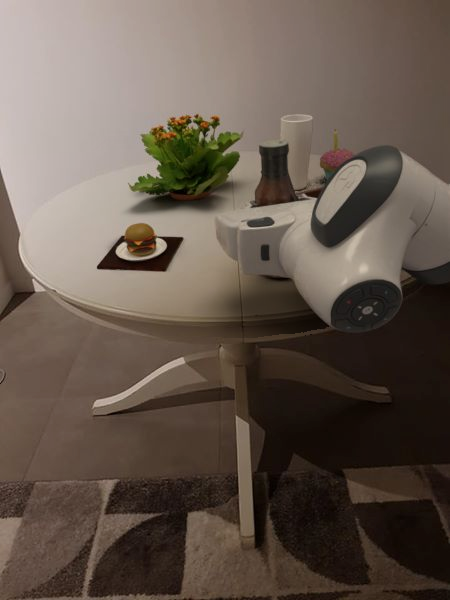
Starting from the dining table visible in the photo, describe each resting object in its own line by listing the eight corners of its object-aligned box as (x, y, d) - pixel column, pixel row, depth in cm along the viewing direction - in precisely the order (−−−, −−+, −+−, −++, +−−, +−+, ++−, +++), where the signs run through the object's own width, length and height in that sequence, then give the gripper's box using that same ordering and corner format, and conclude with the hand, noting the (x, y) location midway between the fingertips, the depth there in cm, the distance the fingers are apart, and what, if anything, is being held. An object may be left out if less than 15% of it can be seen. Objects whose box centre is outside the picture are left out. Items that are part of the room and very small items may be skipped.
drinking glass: (294, 194, 102) (296, 123, 94) (274, 187, 107) (273, 118, 99) (316, 186, 105) (320, 117, 97) (295, 179, 110) (297, 112, 102)
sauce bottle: (305, 269, 74) (310, 141, 63) (279, 284, 71) (280, 151, 60) (273, 257, 78) (273, 134, 67) (248, 271, 75) (243, 144, 64)
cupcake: (341, 190, 103) (345, 133, 96) (310, 182, 108) (312, 128, 102) (363, 179, 107) (369, 125, 101) (333, 172, 113) (336, 120, 106)
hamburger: (122, 237, 89) (116, 210, 86) (183, 239, 87) (180, 211, 84) (97, 268, 79) (90, 239, 76) (165, 271, 77) (161, 240, 74)
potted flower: (155, 175, 119) (144, 102, 110) (247, 173, 116) (245, 97, 107) (129, 214, 98) (113, 128, 89) (241, 212, 96) (237, 123, 86)
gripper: (388, 205, 58) (341, 172, 69) (227, 230, 55) (205, 191, 66) (382, 251, 61) (338, 212, 72) (230, 276, 58) (209, 232, 69)
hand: (274, 202), depth 69 cm, fingers closed on sauce bottle, 6 cm apart
